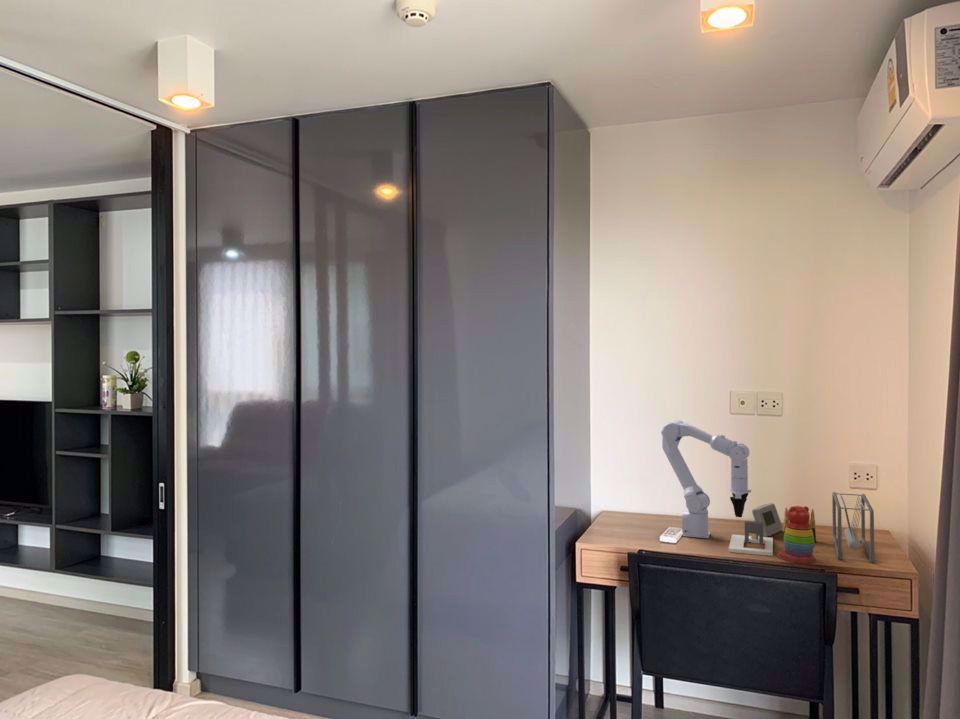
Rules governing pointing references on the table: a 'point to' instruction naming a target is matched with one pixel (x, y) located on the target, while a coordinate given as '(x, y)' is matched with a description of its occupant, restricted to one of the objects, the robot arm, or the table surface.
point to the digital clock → (768, 519)
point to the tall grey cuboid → (754, 530)
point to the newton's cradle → (850, 532)
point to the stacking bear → (798, 537)
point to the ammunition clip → (811, 523)
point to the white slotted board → (739, 540)
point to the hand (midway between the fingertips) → (739, 514)
